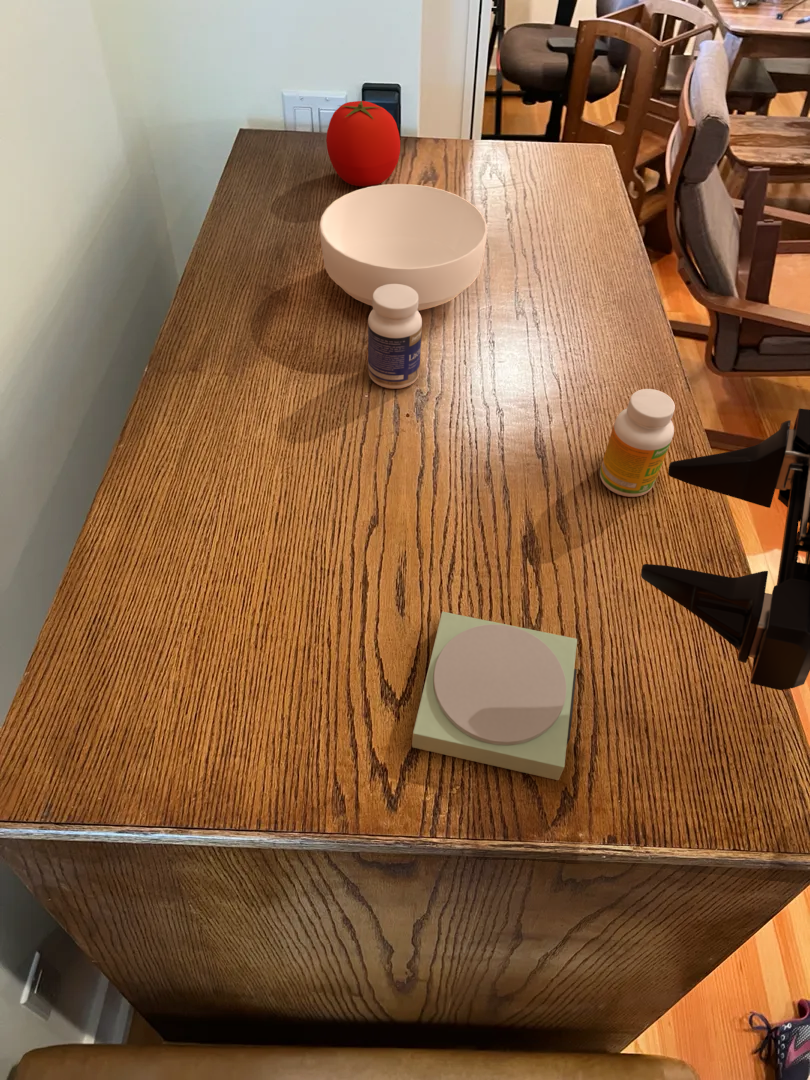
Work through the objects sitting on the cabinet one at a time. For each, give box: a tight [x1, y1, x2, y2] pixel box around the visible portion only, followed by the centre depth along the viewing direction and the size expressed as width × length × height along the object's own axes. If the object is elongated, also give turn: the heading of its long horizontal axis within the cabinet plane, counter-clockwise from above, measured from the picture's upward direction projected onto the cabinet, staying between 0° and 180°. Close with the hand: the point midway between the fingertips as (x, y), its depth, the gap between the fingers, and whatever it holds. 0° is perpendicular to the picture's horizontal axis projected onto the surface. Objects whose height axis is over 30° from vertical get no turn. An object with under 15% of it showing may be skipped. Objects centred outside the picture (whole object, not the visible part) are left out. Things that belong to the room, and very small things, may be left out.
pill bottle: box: [367, 284, 423, 390], centre depth 82 cm, size 6×6×10 cm
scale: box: [411, 611, 578, 781], centre depth 59 cm, size 11×11×3 cm
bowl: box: [319, 183, 488, 312], centre depth 93 cm, size 20×20×8 cm
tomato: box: [325, 100, 401, 187], centre depth 110 cm, size 10×11×11 cm
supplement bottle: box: [599, 388, 676, 498], centre depth 72 cm, size 5×5×10 cm
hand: (655, 517), depth 51 cm, fingers open, 9 cm apart
